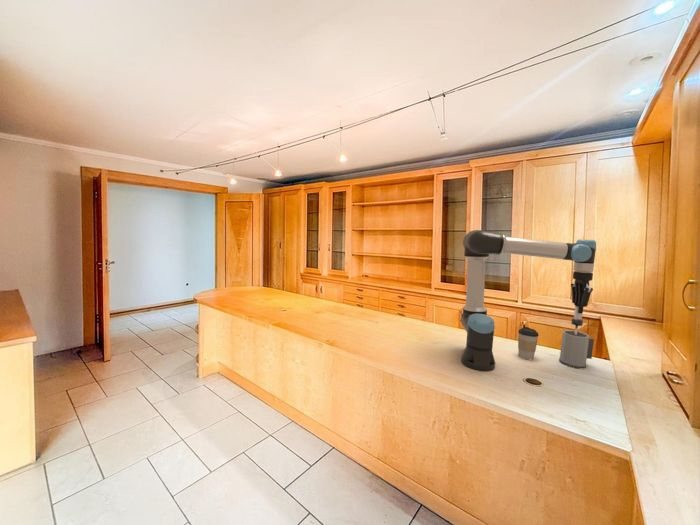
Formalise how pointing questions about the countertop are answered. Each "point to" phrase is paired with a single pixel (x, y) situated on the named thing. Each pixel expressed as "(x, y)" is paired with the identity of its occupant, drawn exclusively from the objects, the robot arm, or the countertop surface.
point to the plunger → (576, 324)
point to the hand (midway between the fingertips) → (577, 319)
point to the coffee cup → (527, 342)
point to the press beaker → (575, 349)
